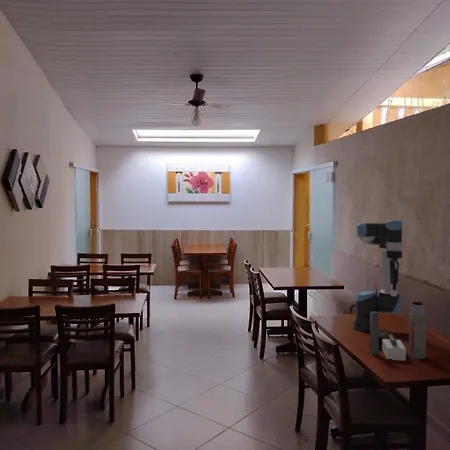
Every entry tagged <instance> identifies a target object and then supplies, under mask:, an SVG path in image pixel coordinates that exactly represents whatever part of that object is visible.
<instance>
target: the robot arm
mask: <svg viewBox="0 0 450 450" xmlns="http://www.w3.org/2000/svg"><path fill="white" fill-rule="evenodd" d="M356 226H357V227H356V232H357V233H356V235H357V237H358V238H359V240H360V241H361V242H363V243H366V244H368V245H373V246H374V245H375V246H379V247H378V248H379V249H380V251H381V289H379V290H378V293H376V291H374V290H366V291H365V290H364V291H359V292H358V293H357V294H356V295H355V318H354V321H353V323H352V329H354V330H356V331H359V332H367V333H368V332H369V333H370V312H378V314H388V315H389V314H390V315H394V314H395V315H396V314H397V315H398V314H399V313H400V311H401V308H402V307H401V305H402V295H401V294H400V292H399V291H398V283H399V269H400V262H399V261H398V260H399V259H402V258H403V251H402V250H403V221H402V220H399V219H398V220H397V219H393V220H392V219H389V220H387V221H386V222H382V223H380V222H379V223H373V222H372V223H365V222H362V223H357V225H356Z"/></svg>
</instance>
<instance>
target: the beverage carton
mask: <svg viewBox="0 0 450 450" xmlns="http://www.w3.org/2000/svg"><path fill="white" fill-rule="evenodd" d="M388 335H389V330H387V329H382V328H381V329H380V328H379V327H378V344H379V349H380V348H381V349H380V350H382V339H389V338H388Z"/></svg>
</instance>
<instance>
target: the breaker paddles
mask: <svg viewBox="0 0 450 450" xmlns="http://www.w3.org/2000/svg"><path fill="white" fill-rule="evenodd" d="M388 339H389V340H390V342H391V344H392V345H397V342H396V340H397V339H396V338H395V336H394V334H393V333H388Z"/></svg>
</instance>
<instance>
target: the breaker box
mask: <svg viewBox="0 0 450 450" xmlns="http://www.w3.org/2000/svg"><path fill="white" fill-rule="evenodd" d="M396 342H397V345H392V344H391V342H390V340H389V338H388V339H382V349H381V350H383V351H382V353H383V352H384V353H383V355H384V354H385V355H384V357H385V356H386V357H385V359H386V358H387V359H392V360H391V361H403V362H404V361H407V360H406V359H407V356H406V355H407V353H406V352H407V350H406V349H407V348H406V347H405V345H404V343H403V342H402V341H401V339H396ZM387 359H386V360H387Z"/></svg>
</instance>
